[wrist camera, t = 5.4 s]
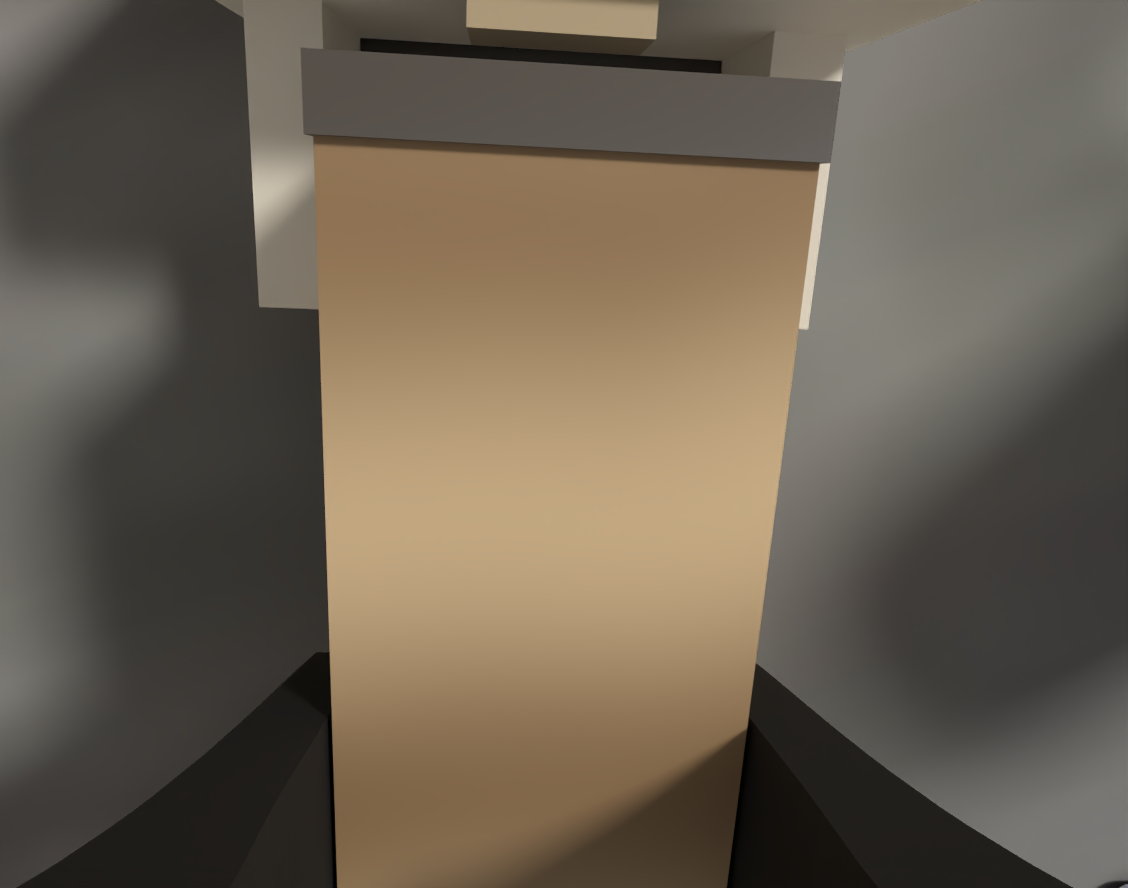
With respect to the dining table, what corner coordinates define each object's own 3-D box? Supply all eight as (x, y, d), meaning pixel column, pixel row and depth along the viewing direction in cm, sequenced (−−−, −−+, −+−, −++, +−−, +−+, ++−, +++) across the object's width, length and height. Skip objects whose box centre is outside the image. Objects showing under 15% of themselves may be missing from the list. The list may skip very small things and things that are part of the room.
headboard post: (779, 302, 16) (936, 373, 10) (277, 282, 15) (134, 343, 9) (828, -95, 14) (1055, -291, 8) (258, -140, 13) (63, -387, 7)
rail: (626, 950, 15) (679, 1300, 11) (397, 953, 15) (345, 1316, 10) (700, 125, 11) (842, 81, 7) (391, 108, 11) (301, 46, 6)
